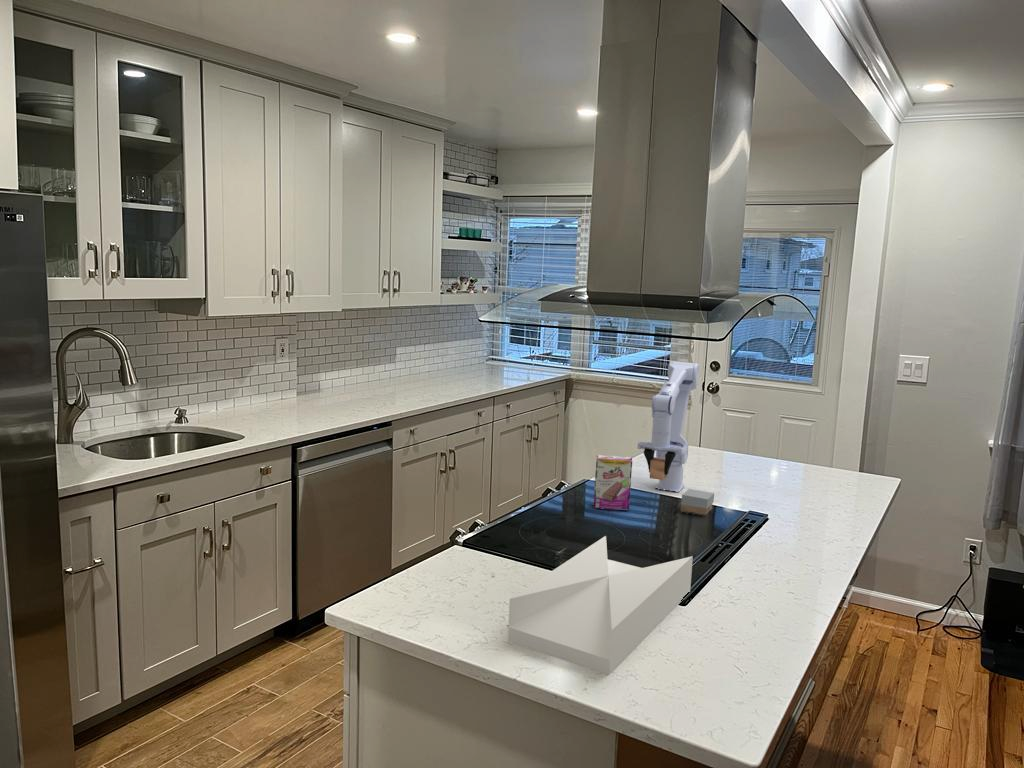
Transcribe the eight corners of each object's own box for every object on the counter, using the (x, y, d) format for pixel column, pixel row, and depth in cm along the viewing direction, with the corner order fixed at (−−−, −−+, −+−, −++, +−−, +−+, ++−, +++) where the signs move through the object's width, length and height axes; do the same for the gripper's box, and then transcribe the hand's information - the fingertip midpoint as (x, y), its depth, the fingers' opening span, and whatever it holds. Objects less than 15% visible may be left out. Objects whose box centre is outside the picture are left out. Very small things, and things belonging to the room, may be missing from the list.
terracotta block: (653, 474, 254) (654, 457, 253) (666, 477, 252) (668, 459, 251) (649, 478, 250) (650, 460, 249) (663, 480, 248) (664, 462, 247)
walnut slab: (686, 506, 248) (687, 497, 248) (711, 511, 245) (712, 501, 244) (680, 513, 241) (681, 503, 241) (706, 517, 238) (706, 508, 237)
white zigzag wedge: (603, 572, 193) (605, 535, 191) (689, 594, 181) (692, 555, 180) (507, 643, 155) (509, 598, 153) (609, 677, 143) (612, 629, 142)
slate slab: (688, 497, 247) (689, 488, 247) (713, 502, 244) (714, 493, 243) (681, 504, 241) (681, 494, 240) (706, 508, 237) (707, 499, 236)
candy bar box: (593, 509, 240) (596, 458, 238) (593, 504, 245) (595, 454, 243) (629, 511, 239) (632, 460, 237) (628, 507, 244) (631, 456, 242)
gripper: (635, 431, 248) (633, 472, 250) (680, 437, 242) (677, 479, 244) (642, 427, 255) (639, 467, 257) (686, 433, 248) (683, 474, 250)
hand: (658, 473), depth 251 cm, fingers closed on terracotta block, 4 cm apart
